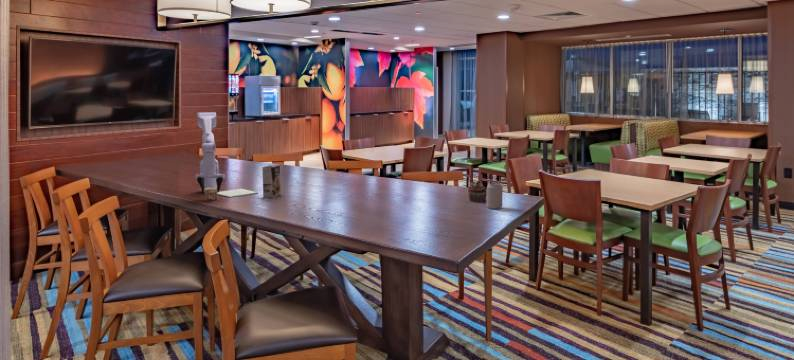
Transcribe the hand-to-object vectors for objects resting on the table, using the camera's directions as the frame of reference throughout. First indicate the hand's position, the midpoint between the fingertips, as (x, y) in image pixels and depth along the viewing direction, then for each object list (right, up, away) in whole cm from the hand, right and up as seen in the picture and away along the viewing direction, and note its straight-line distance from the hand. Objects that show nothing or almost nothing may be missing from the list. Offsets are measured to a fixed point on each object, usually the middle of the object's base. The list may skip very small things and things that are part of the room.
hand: (210, 192), depth 289 cm
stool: (0, -4, +1) cm, 4 cm away
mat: (+8, -1, +17) cm, 19 cm away
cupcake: (+137, -5, -2) cm, 137 cm away
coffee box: (+29, -3, +10) cm, 31 cm away
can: (+143, -7, -19) cm, 144 cm away
